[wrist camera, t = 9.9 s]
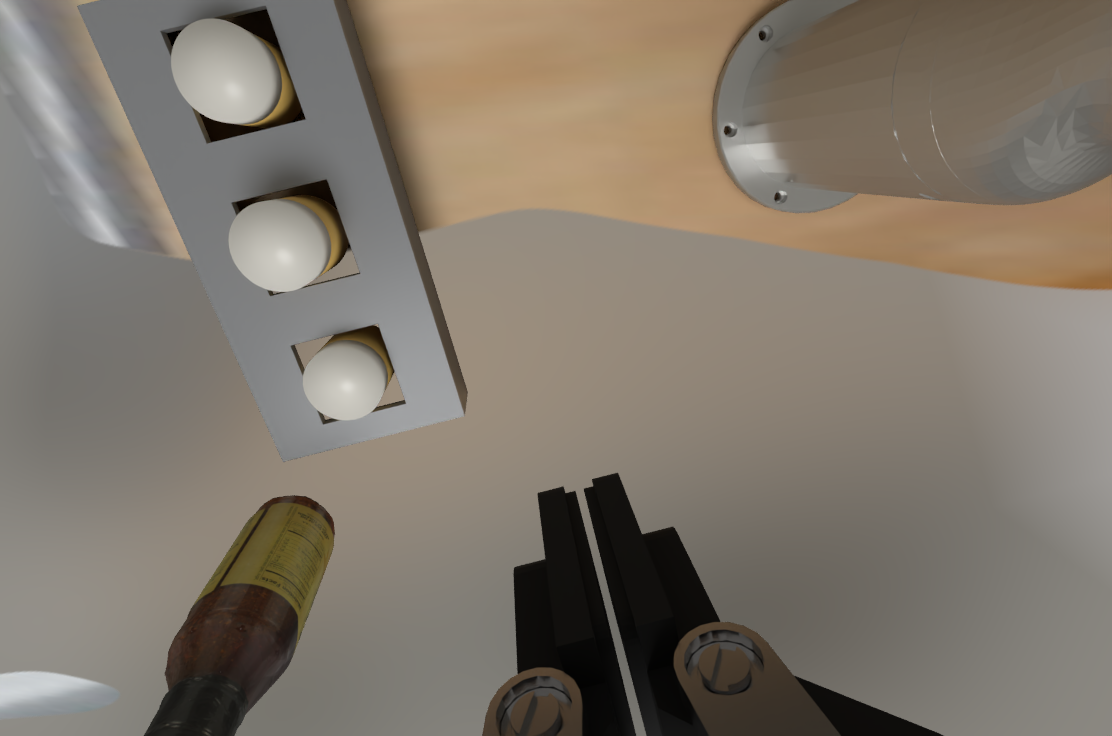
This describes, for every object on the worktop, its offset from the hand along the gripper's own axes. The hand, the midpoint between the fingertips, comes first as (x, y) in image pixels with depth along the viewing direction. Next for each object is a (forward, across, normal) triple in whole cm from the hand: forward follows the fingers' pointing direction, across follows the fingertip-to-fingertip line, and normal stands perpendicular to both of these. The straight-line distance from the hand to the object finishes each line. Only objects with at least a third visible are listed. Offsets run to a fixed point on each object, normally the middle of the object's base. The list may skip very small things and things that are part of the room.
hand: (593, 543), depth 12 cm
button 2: (+29, +12, +2) cm, 31 cm away
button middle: (+27, +12, -6) cm, 30 cm away
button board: (+29, +12, -6) cm, 32 cm away
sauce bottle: (+29, +21, +14) cm, 39 cm away
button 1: (+29, +12, -14) cm, 34 cm away
